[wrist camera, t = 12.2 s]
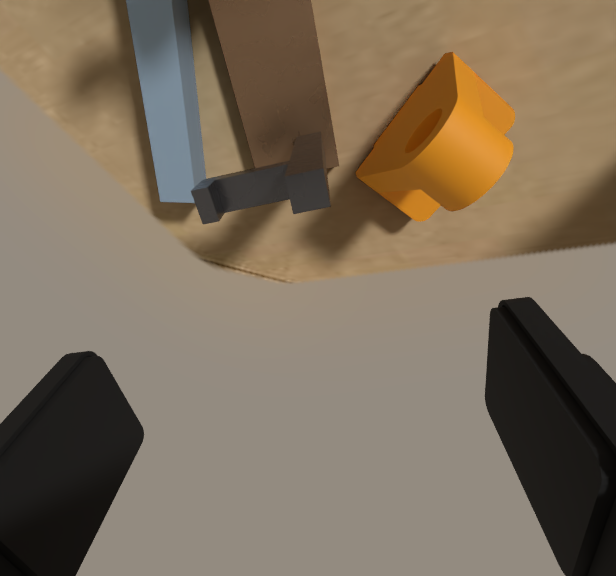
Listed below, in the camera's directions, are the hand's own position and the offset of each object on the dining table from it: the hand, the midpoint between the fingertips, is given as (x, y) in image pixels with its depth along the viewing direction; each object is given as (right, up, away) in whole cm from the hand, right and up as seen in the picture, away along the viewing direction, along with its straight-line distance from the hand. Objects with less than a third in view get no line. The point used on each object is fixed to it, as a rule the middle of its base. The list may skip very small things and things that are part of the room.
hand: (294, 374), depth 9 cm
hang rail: (-10, +21, +20) cm, 31 cm away
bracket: (+11, +15, +23) cm, 29 cm away
